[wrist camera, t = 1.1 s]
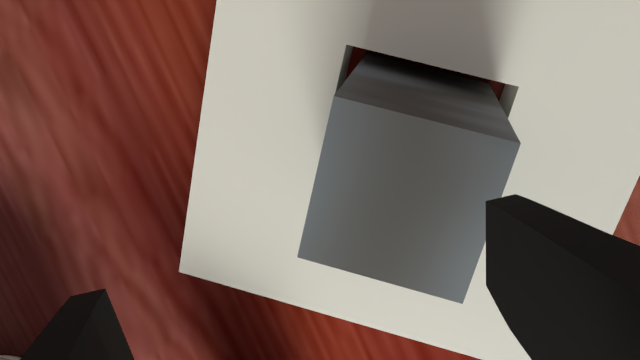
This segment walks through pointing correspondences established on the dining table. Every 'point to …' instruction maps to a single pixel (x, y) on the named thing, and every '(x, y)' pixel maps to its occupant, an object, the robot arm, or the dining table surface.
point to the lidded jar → (9, 357)
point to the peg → (408, 177)
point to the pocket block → (313, 113)
